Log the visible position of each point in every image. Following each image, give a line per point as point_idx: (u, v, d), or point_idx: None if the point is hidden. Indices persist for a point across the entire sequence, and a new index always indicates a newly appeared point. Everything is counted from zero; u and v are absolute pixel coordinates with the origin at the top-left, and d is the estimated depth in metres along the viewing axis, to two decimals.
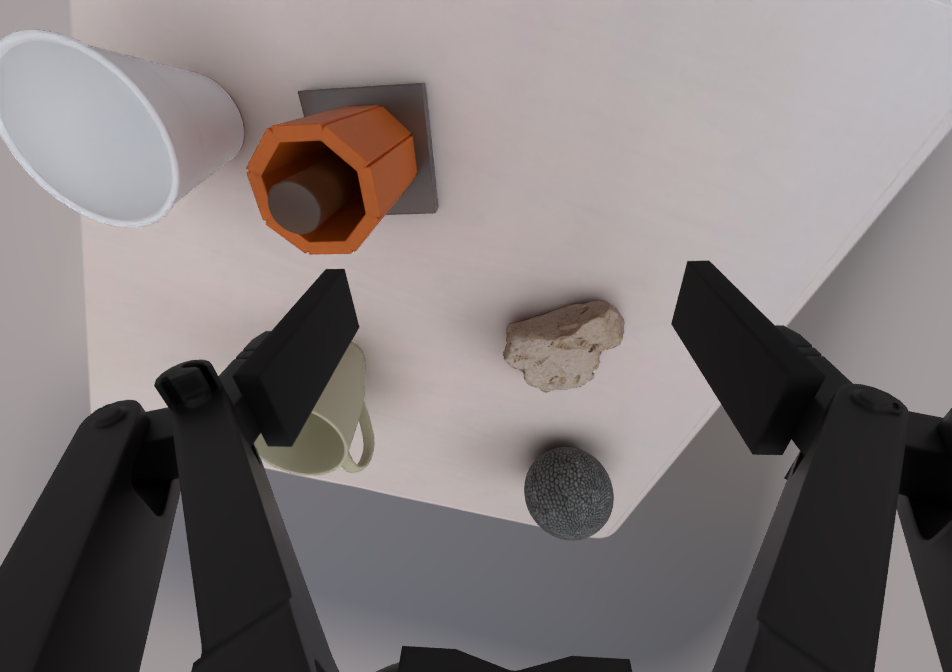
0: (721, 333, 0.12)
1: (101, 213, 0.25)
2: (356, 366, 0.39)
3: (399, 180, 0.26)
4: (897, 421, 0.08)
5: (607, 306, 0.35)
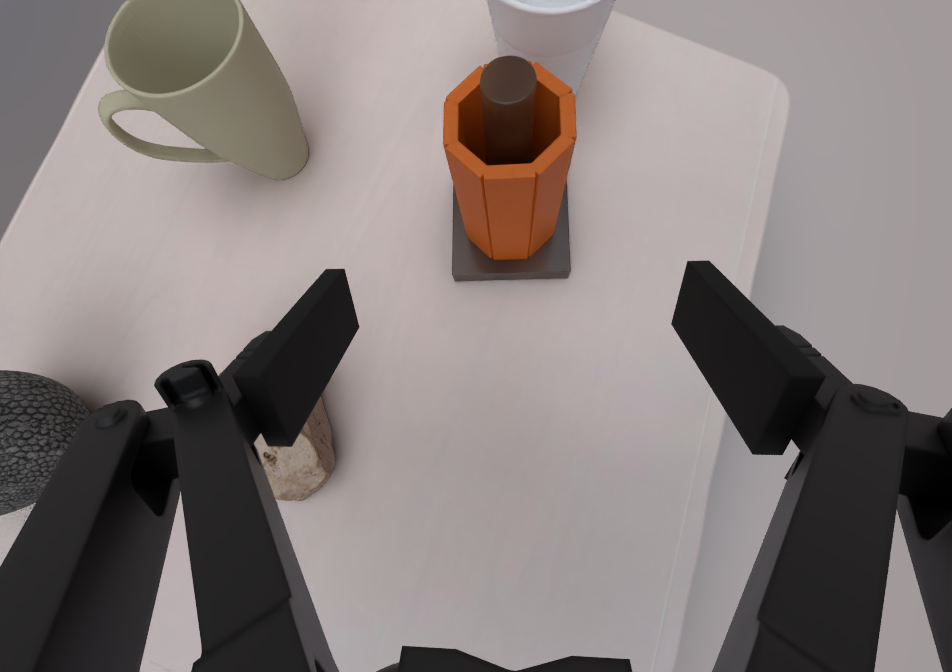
0: (721, 333, 0.12)
1: None
2: (271, 159, 0.32)
3: (500, 226, 0.25)
4: (897, 421, 0.08)
5: (329, 471, 0.27)
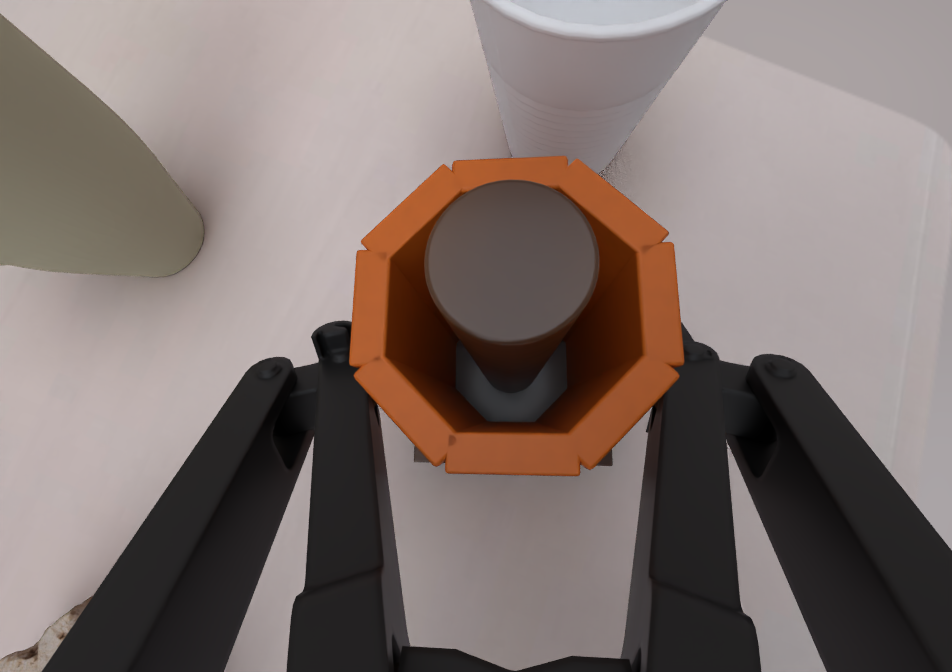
0: None
1: None
2: (118, 264, 0.19)
3: None
4: (712, 365, 0.10)
5: None
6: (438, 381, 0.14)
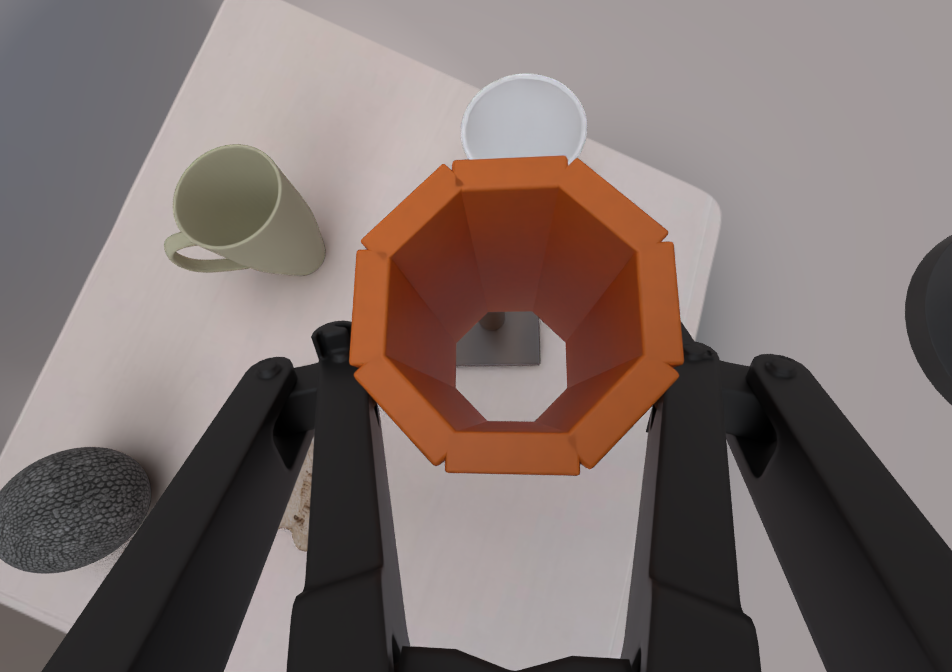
0: None
1: (470, 112, 0.33)
2: (297, 269, 0.39)
3: None
4: (712, 365, 0.10)
5: None
6: (438, 381, 0.14)
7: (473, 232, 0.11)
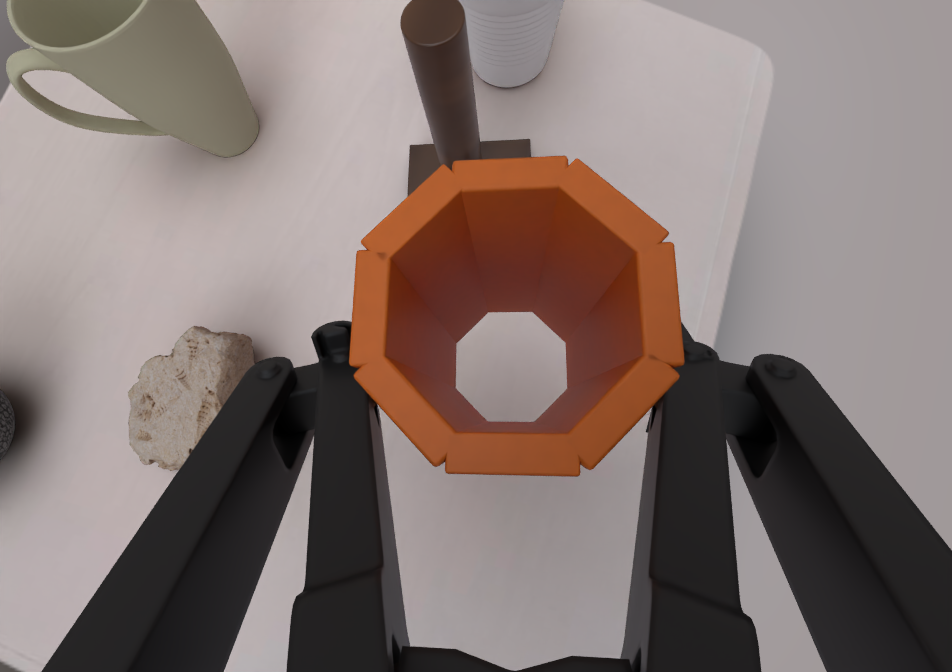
0: None
1: None
2: (210, 131, 0.29)
3: None
4: (712, 365, 0.10)
5: None
6: (438, 381, 0.14)
7: (473, 233, 0.11)
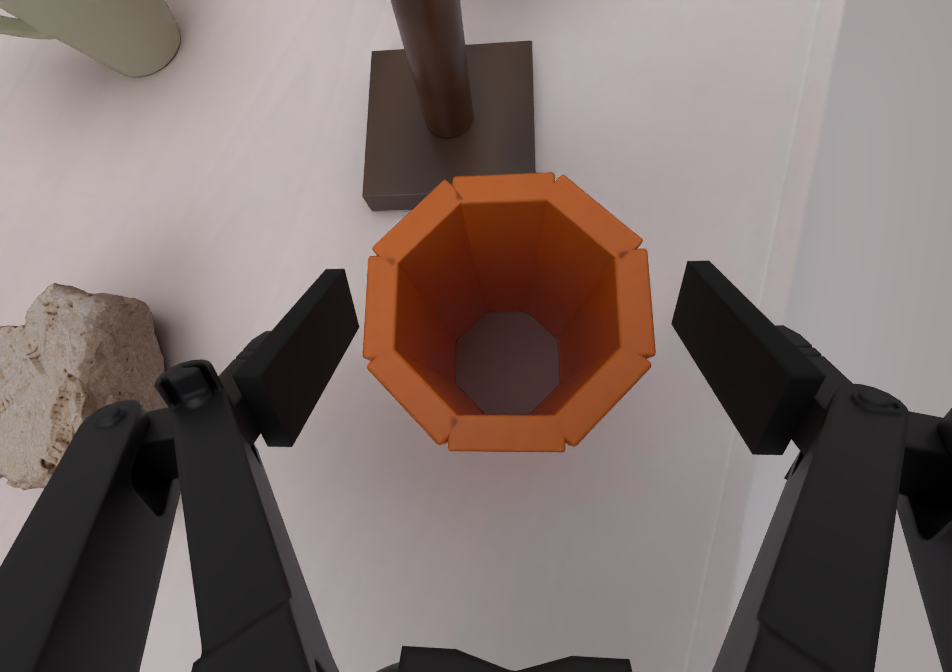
0: (721, 333, 0.12)
1: None
2: (99, 26, 0.21)
3: None
4: (897, 421, 0.08)
5: None
6: (439, 375, 0.15)
7: (472, 239, 0.12)
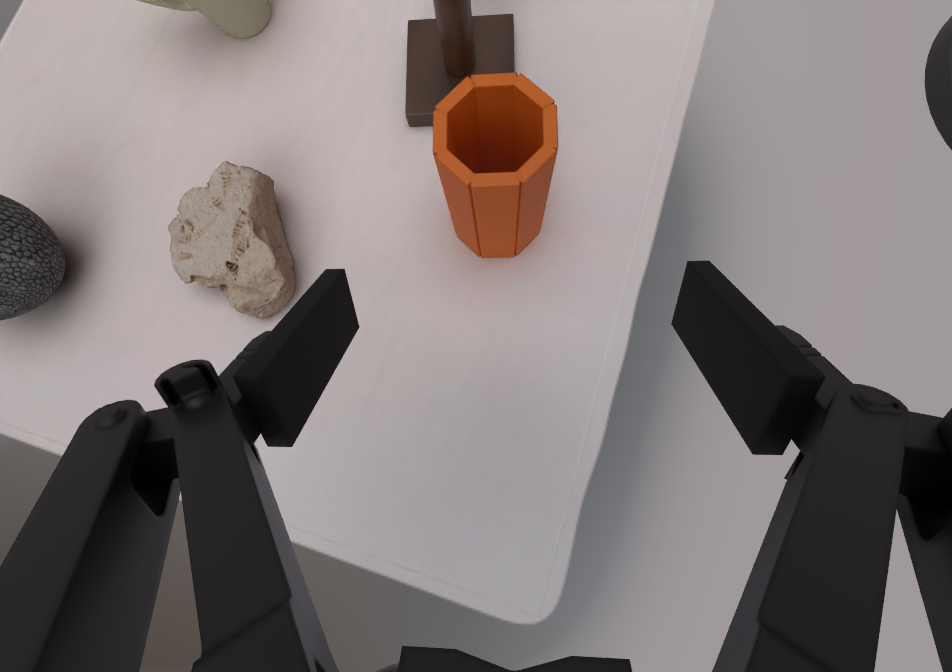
0: (721, 333, 0.12)
1: None
2: (232, 2, 0.33)
3: (488, 228, 0.27)
4: (897, 421, 0.08)
5: (287, 279, 0.30)
6: None
7: (478, 113, 0.25)
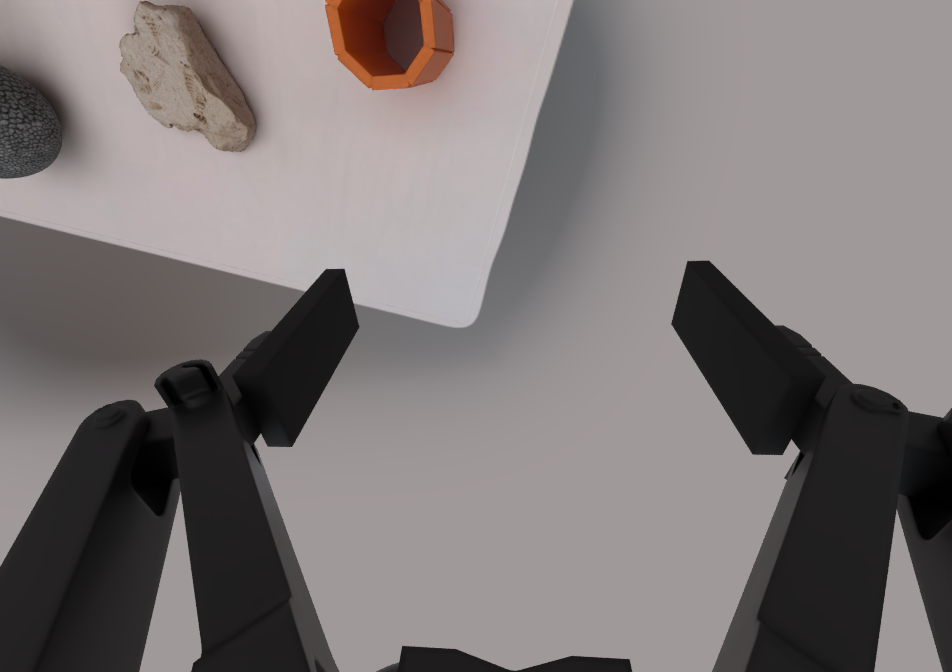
0: (721, 333, 0.12)
1: None
2: None
3: None
4: (897, 421, 0.08)
5: (249, 125, 0.37)
6: (371, 53, 0.31)
7: None
